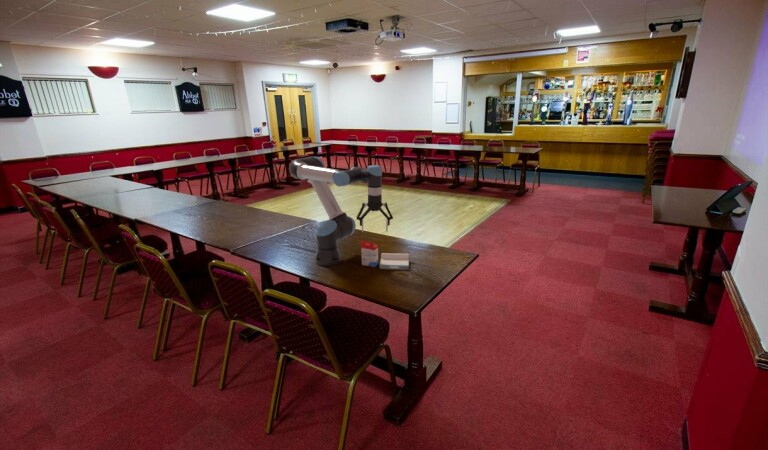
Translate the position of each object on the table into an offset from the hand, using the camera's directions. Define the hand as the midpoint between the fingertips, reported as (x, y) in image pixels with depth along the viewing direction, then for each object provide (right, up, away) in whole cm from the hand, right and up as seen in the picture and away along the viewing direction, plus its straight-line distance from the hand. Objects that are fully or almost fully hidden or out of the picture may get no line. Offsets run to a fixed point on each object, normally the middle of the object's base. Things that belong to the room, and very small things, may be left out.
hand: (374, 231), depth 204 cm
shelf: (+11, -19, +2) cm, 22 cm away
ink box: (-3, -19, +3) cm, 20 cm away
